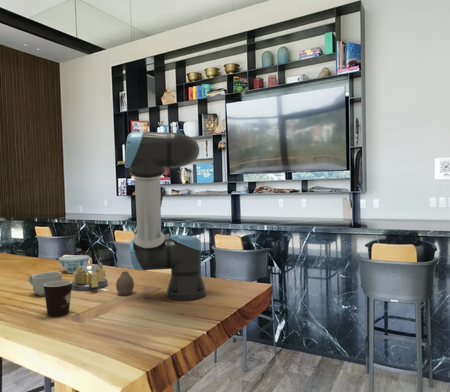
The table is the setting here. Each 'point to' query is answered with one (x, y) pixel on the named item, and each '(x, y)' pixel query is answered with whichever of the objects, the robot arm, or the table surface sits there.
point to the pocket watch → (100, 263)
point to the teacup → (43, 281)
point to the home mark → (104, 290)
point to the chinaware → (73, 262)
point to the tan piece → (89, 276)
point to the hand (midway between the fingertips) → (152, 223)
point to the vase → (125, 284)
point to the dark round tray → (86, 286)
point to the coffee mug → (58, 297)
